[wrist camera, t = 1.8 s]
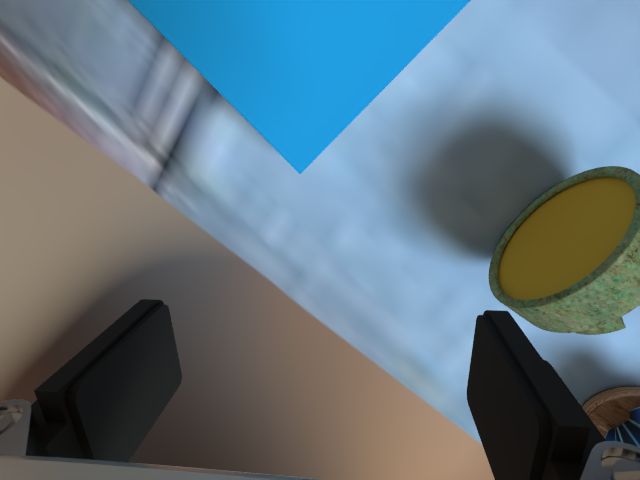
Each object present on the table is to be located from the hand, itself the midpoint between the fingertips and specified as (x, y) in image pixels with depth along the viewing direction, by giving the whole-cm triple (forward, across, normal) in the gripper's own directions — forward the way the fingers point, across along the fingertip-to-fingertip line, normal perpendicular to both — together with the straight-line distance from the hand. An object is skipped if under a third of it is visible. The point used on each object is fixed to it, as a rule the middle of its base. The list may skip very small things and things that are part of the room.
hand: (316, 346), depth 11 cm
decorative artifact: (+18, -16, +3) cm, 24 cm away
